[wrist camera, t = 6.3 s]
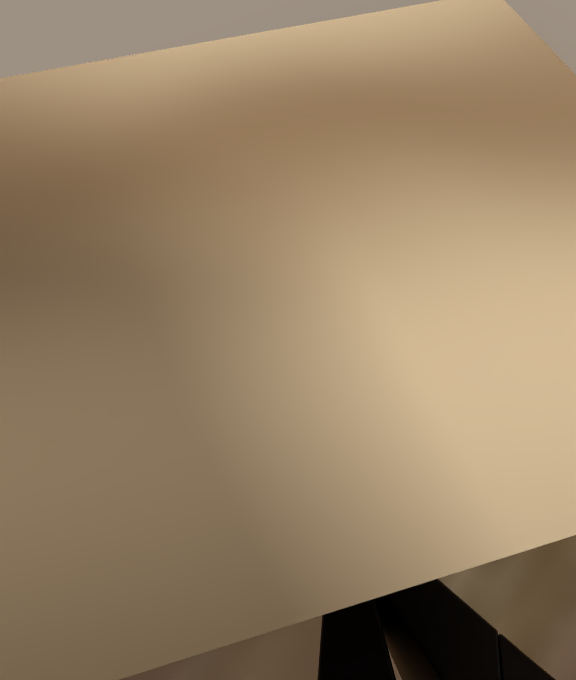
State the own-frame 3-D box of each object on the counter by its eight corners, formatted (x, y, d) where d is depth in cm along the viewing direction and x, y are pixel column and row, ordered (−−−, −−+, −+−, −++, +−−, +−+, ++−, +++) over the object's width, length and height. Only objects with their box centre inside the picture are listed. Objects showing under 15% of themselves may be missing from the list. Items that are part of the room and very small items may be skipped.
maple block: (426, 483, 14) (912, 428, 3) (221, 543, 13) (-146, 763, 2) (364, 325, 17) (494, -9, 6) (192, 368, 16) (-35, 84, 5)
